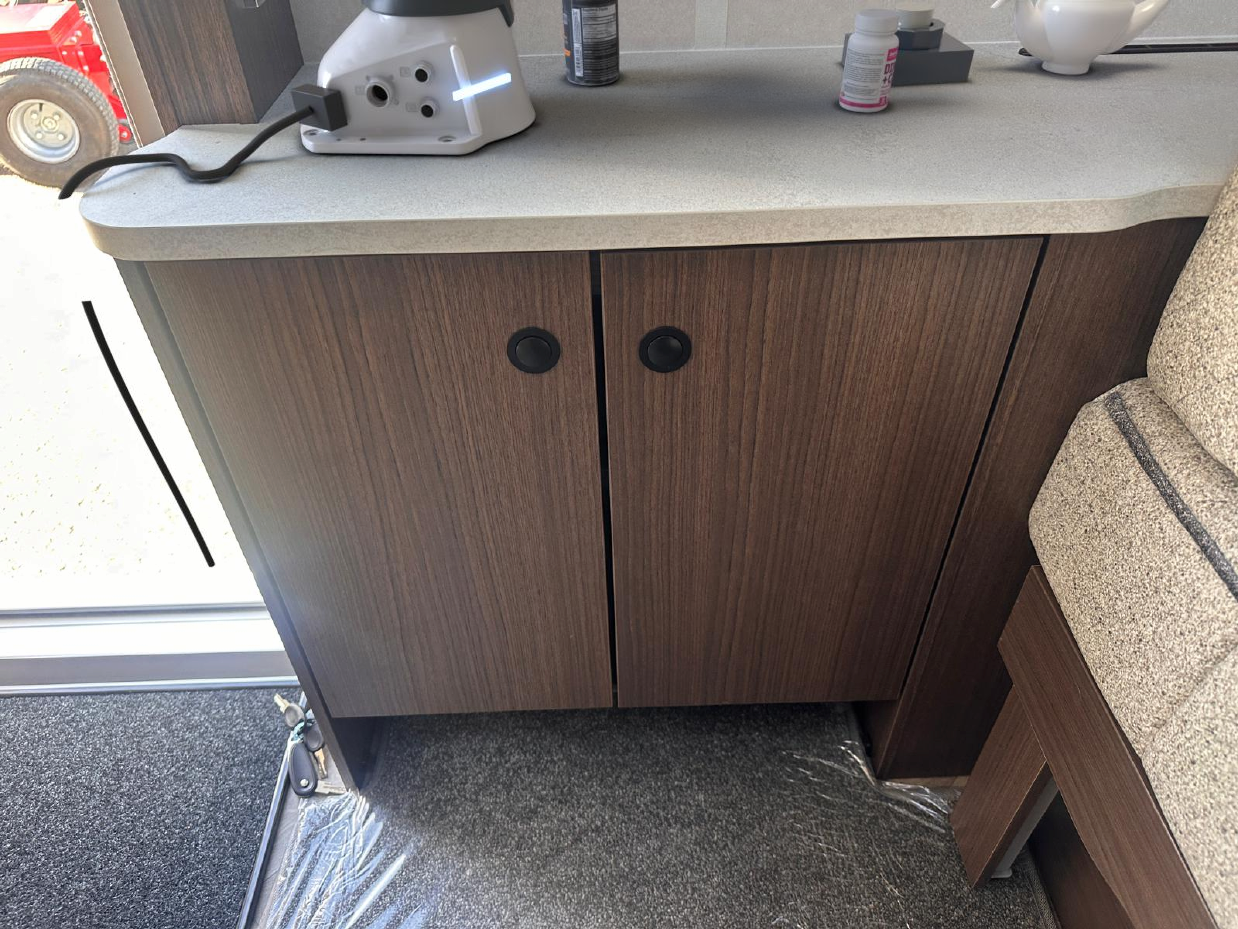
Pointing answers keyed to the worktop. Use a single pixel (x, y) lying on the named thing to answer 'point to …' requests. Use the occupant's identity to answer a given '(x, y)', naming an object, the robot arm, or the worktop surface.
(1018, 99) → the worktop surface
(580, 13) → the dark grey can
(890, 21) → the pill bottle
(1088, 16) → the teapot
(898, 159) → the worktop surface
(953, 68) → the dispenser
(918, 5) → the dispenser button
